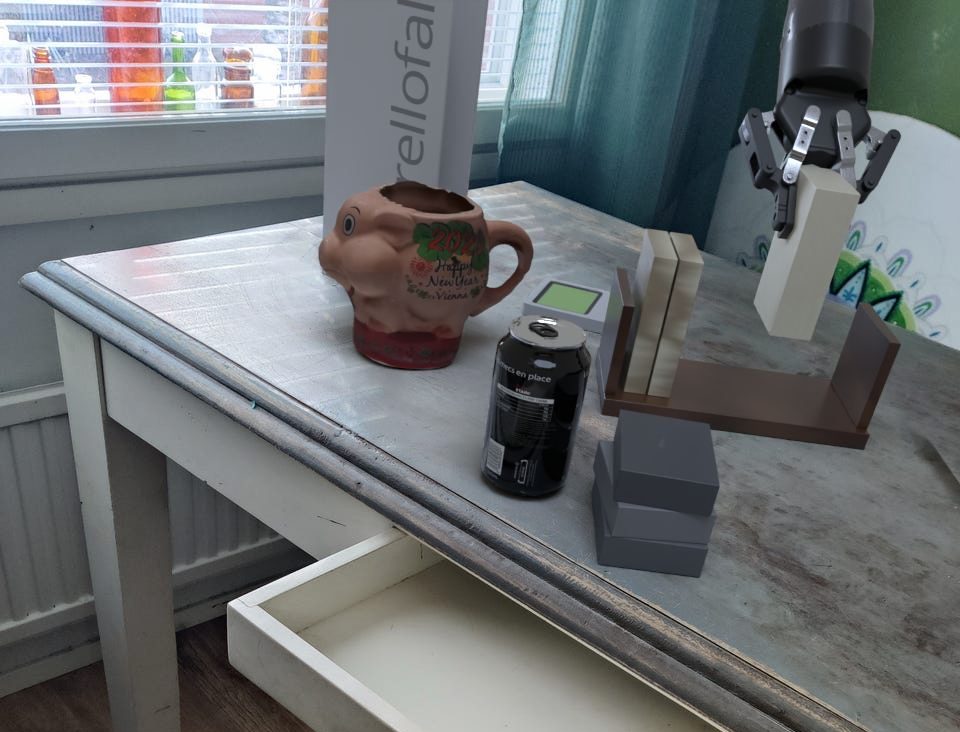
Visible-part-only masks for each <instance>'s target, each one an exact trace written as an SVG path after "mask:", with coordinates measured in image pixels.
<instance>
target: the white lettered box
mask: <svg viewBox="0 0 960 732" xmlns="http://www.w3.org/2000/svg"><path fill="white" fill-rule="evenodd" d="M489 1H490V0H327V35H326V36H327V39H326V42H327V43H326V79H325V81H326V82H325V83H326V84H325V85H326V86H325V122H324V123H325V125H324V126H325V129H324V164H323V165H324V171H323V213H322V214H323V215H322V240H323V239H324V238H325V237H326V236H327V235H328V234H329V233H330V232H331V231H332V230H333V228H334V227H335V224H336V219H337V215H338V212H339V210H340V209H341V207H342V205H343V204H344V202H345V201H346V200H347V199H348V198H349V197H351V196H353V195H355V194H358V193H361V192H365V191H368V190H370V189H371V188H373V187H375V186H379V185H385V184H390V183H396V182H402V181H416V182H418V183H420V184H425V185H428V186H432V187H437V188H442V189H446V190H450V191H452V192H454V193H457V194H460V195H464V196H467V197H469V196H468V195H469V184H470V176H471V167H472V158H473V148H474V139H475V129H476V122H477V112H478V102H479V95H480V94H479V93H480V84H481V76H482V66H483V57H484V49H485V48H484V47H485V37H486V30H487V29H486V28H487V19H488V10H489ZM323 273H325V274H324V275H326V274H327V273H326V272H325V271H324V270H323V269H322V268H321V274H323ZM326 276H328V274H327V275H326Z"/></svg>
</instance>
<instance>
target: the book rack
mask: <svg viewBox="0 0 960 732" xmlns="http://www.w3.org/2000/svg"><path fill="white" fill-rule="evenodd" d="M639 252H640V253H639V257H638V261H637V266H636V271H635V277H634V280H633V285H632V289H631V284H630V280H629V276H628V272H627V269H626V268H620V267H615V269H614V274H613V277H612V284H611V287H610V291H611V292H610V297H609V302H608V307H607V312H606V317H605V322H604V326H603V331H602V334H601V336H600V342H599V345H598V347H597V349H596V355H595V359H594V364H595V372H596V380H597V388H598V395H599V405H600V412H601V415H605V416H612V417H619V413H620V410H627V411H633V412H639V413H645V414H651V415H657V416H664V417H670V418H676V419H682V420H688V421H694V422H700V423H706V424H710V430H716V431H717V430H718V431H724V432H731V433H739V434H747V435H754V436H760V437H767V438H777V439H784V440H792V441H798V442H805V443H813V444H814V443H815V444H821V445H827V446H828V445H829V446H835V447H843V448H849V449H850V448H851V449H858V450H865V447H866V445H867V443H868V440H869V438H870V436H871V434H870V432H869V431H868V428H869V425H870V423H871V421H872V418H873V416H874V413H875V411H876V409H877V405H878V403H879V401H880V398H881V396H882V394H883V392H884V388H885V385H886V383H887V381H888V378H889V376H890V374H891V371H892V369H893V366H894V364H895V361H896V358H897V357H898V353H899V352H900V348H901V346H902V343H901V342H900V340H899V339H898V338H897V337H896V335H895V334H894V332H893V331H892V330H891V329H890V327H889V326H888V325H887V324H886V322H885V321H884V320H883V318H882V317H881V316H880V315H879V313H878V312H877V311H876V309H875V308H874V307H873V306H872V305H871V303H869V302H862V301H859V303H858V305H857V308H856V311H855V314H854V317H853V320H852V321H851V324H850V328H849V330H848V333H847V335H846V339H845V341H844V344H843V347H842V349H841V352H840V355H839V358H838V360H837V363H836V365H835V368H834V370H833V371H834V372H833V374H832V377H831V378H824V377H818V376H810V375H803V374H795V373H789V372H788V373H787V372H783V371H782V372H781V371H775V370H768V369H767V370H766V369H759V368H753V367H745V366H737V365H731V364H724V363H716V362H708V361H700V360H694V359H687V358H681V355H682V350H683V347H684V342H685V340H686V335H687V331H688V327H689V323H690V319H691V316H692V312H693V307H694V305H695V300H696V296H697V292H698V290H699V289H698V288H699V285H700V282H701V276H702V273H703V270H704V266H705V262H704V260H703V257H702V255H701V253H700V251H699V248H698V246H697V244H696V241H695V239H694V237H693V234H688V233H680V232H674V231H670V232H668V231H667V230H658V229H652V228H645V229H644V234H643V238H642V243H641V247H640V251H639Z"/></svg>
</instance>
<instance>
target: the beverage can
mask: <svg viewBox="0 0 960 732" xmlns="http://www.w3.org/2000/svg"><path fill="white" fill-rule="evenodd" d="M587 338H588V335H587V332H586V330H584V329H582V328H580V327H579V326H577V325H576V324H573V323H571V322H569V321H566V320H563V319H559V318H555V317H549V316H540V315H529V316H526V315H521V316H518V317H515V318H513V319H511V320H510V321H509V323H508V332H507V333H506V334H504V335H503V336H502V337H501V338H500V339H499V340H498V342H497V345H496V350H495V355H494V363H493V369H492V377H491V384H490V391H489V398H488V404H487V405H488V406H487V413H486V419H485V420H486V421H485V427H484V435H483V442H482V450H481V457H480V468H481V471H482V473H483V474H484V476H485V477H486V478H487V479H488V480H489V481H490V482H492V484H494V485H495V486H496V487H498V488H499V489H501V490H502V491H504V492H507V493H509V494H512V495H514V496H515V495H516V496H520V497H538V496H543V495H545V494H548V493H551V492H554V491H556V490H558V489H559V488H561V487H562V486H563V485H565V483H566V482H567V480H568V476H569V472H570V469H571V468H570V467H571V463H572V459H573V455H574V449H575V445H576V441H577V440H576V439H577V435H578V430H579V425H580V420H581V414H582V410H583V405H584V400H585V395H586V390H587V386H588V381H589V376H590V371H591V365H592V355H591V353H590V351H589V349H588V348H587V347H586V346H587V345H586V343H587V340H588V339H587Z"/></svg>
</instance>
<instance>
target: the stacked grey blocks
mask: <svg viewBox="0 0 960 732" xmlns="http://www.w3.org/2000/svg"><path fill="white" fill-rule="evenodd" d="M617 417H618V418H617V421H616V422H617V423H616V426H615V431H614V435H613V440H607V439H605V440H604V439H598V442H597V447H596V451H595V456H594V459H593V460H594V461H593V464H592V470H593V473H594V479H593V485H592V489H591V500H592V501H591V502H592V503H591V504H592V511H593V512H592V513H593V524H594V533H595V544H596V545H595V546H596V554H597V564H598V565H600V566H610V567H617V568H622V569H623V568H624V569H631V570H641V571H646V572H647V571H648V572H654V573H655V572H656V573H662V574H663V573H664V574H671V575H679V576H686V577H693V578H694V577H695V578H700V577H701V575H702V571H703V568H704V565H705V562H706V559H707V555H708V552H709V546H708V544H709V543H710V538H711V535H712V532H713V529H714V526H715V523H716V520H717V516H718V514H717V512H716V509H715V503H716V500H717V497H718V495H719V490H720V488H721V485H720V484H721V483H720V477H719V472H718V468H717V460H716V457H715V456H716V455H715V454H716V453H715V448H714V443H713V436H712V431H711V430H712V429H710V424H706V423H700V422H694V421H688V420H682V419H676V418H670V417H664V416H657V415H651V414H645V413H639V412H633V411H627V410H620V413H619V416H617Z"/></svg>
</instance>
